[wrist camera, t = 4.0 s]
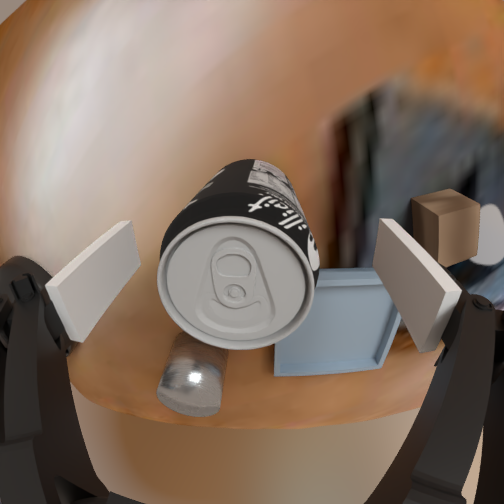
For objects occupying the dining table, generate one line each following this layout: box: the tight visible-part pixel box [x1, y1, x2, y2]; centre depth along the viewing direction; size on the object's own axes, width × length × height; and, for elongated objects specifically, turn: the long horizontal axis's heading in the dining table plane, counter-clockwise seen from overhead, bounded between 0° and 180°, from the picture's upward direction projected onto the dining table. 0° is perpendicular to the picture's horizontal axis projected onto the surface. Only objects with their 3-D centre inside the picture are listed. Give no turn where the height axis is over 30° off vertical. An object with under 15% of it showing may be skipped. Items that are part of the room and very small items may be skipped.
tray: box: [274, 268, 401, 376], centre depth 24 cm, size 12×12×2 cm
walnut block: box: [411, 189, 480, 267], centre depth 18 cm, size 4×4×4 cm
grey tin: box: [157, 331, 228, 417], centre depth 25 cm, size 6×6×7 cm
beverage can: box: [157, 159, 320, 350], centre depth 15 cm, size 7×7×12 cm
